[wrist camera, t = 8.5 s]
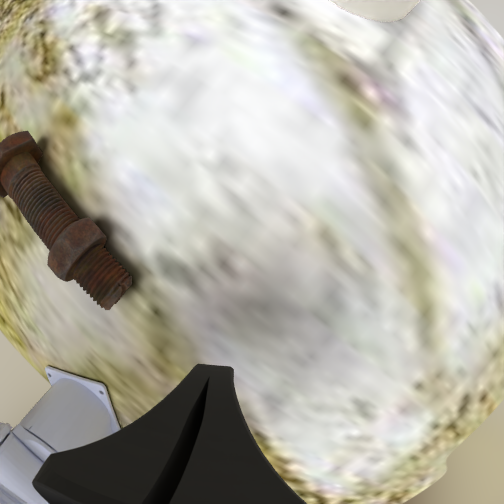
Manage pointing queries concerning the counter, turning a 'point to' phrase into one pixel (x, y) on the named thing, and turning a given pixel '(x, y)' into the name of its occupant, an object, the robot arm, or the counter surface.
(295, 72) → the counter surface
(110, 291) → the bolt
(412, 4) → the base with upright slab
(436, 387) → the counter surface
